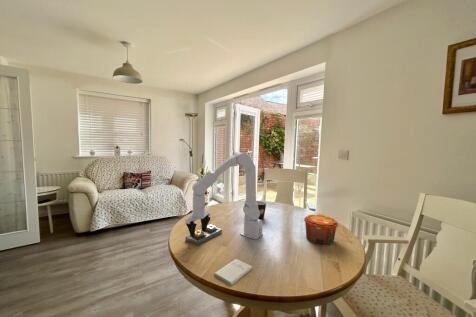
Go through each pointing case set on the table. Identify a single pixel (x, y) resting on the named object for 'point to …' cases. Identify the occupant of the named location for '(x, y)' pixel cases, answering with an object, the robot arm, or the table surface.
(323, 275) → the table surface
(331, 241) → the food container
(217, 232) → the grey rectangular slotted frame
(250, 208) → the robot arm
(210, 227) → the cube with domed knob
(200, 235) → the tan wooden cube
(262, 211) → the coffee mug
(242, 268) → the external hard drive
